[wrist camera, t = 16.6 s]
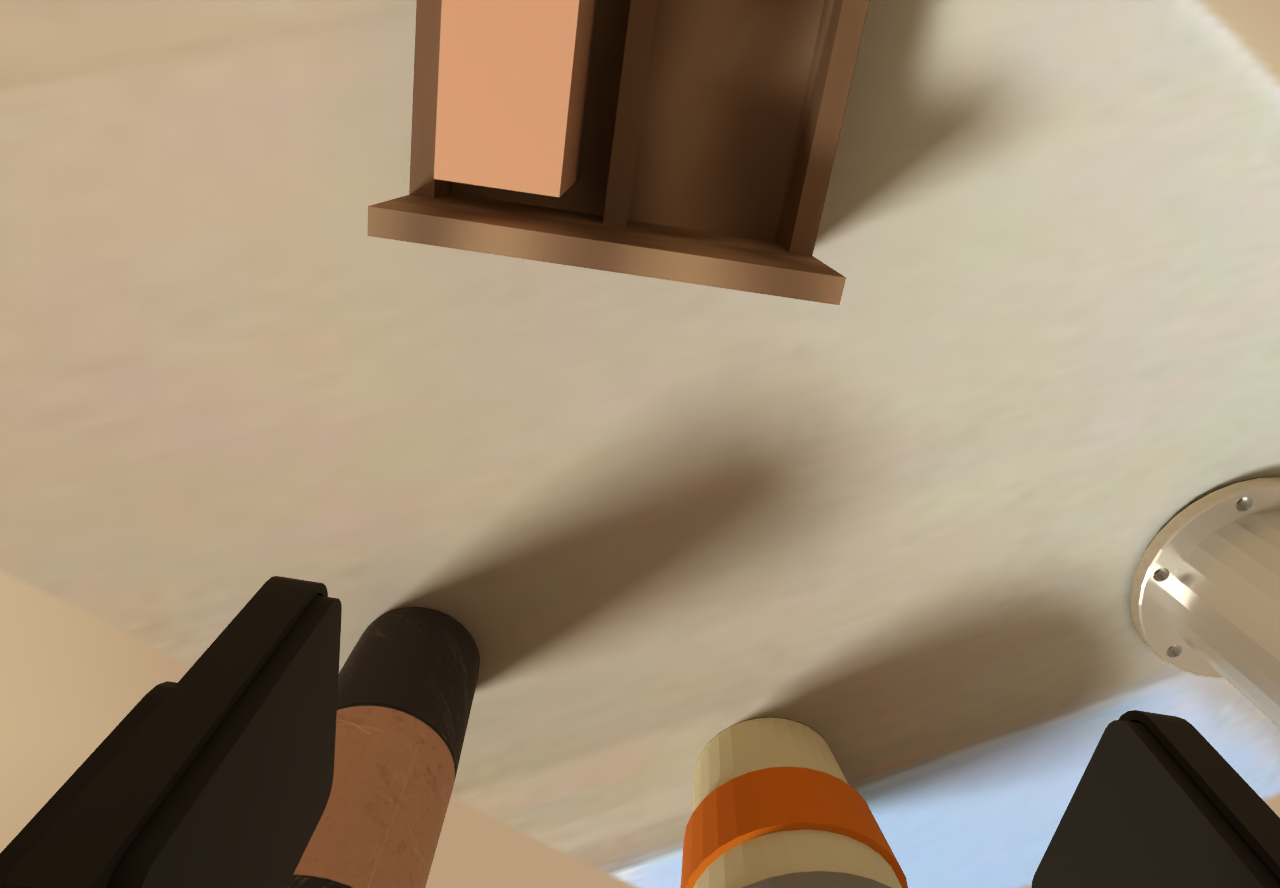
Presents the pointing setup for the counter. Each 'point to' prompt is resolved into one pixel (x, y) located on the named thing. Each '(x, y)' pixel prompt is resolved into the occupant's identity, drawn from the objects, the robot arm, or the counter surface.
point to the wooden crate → (668, 149)
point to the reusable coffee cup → (780, 816)
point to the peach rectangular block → (513, 92)
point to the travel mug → (393, 752)
